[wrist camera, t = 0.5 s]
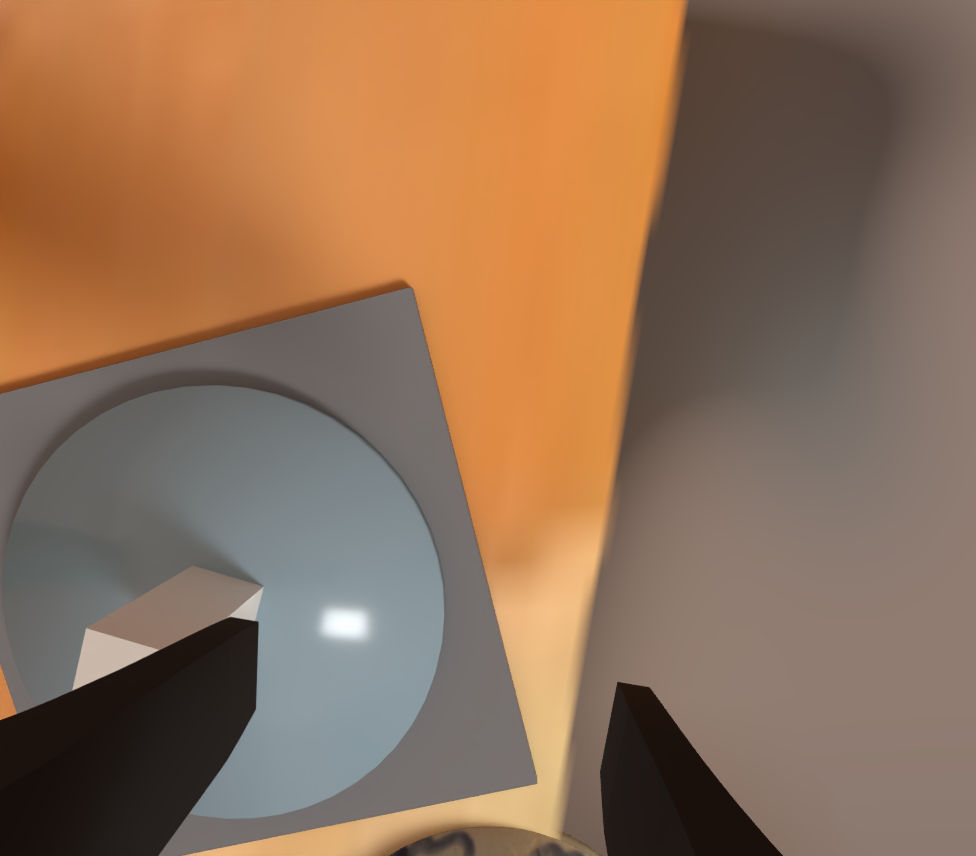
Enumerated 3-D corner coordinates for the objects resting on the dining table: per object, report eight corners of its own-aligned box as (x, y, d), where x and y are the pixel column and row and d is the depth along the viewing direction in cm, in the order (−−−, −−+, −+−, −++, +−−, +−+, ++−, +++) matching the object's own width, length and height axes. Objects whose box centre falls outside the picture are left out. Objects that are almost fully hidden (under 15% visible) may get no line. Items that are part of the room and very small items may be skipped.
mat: (80, 869, 22) (72, 877, 22) (-72, 414, 21) (-83, 415, 20) (536, 776, 21) (537, 783, 21) (413, 288, 20) (411, 286, 19)
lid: (381, 852, 21) (335, 1028, 16) (-15, 734, 21) (-207, 864, 16) (498, 456, 20) (494, 488, 14) (68, 331, 20) (-112, 311, 14)
